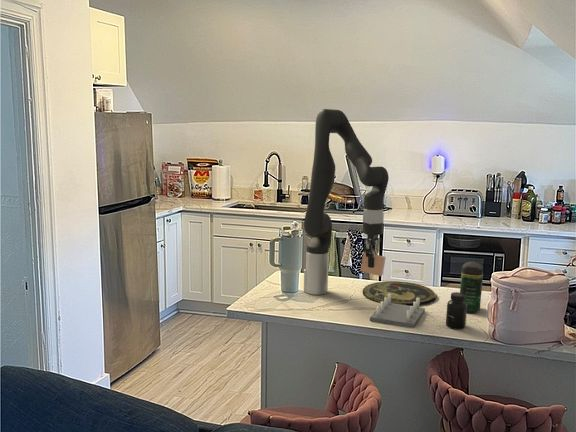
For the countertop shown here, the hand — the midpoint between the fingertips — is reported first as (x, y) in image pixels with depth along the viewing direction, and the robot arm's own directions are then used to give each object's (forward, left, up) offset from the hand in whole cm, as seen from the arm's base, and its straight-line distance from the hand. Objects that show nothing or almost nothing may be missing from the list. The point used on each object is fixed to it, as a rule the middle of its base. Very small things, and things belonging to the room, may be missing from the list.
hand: (372, 266), depth 224 cm
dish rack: (+11, 0, -18) cm, 21 cm away
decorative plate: (+5, +26, -18) cm, 32 cm away
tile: (0, 0, -3) cm, 3 cm away
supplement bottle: (+32, -1, -18) cm, 37 cm away
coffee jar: (+34, +20, -18) cm, 43 cm away
